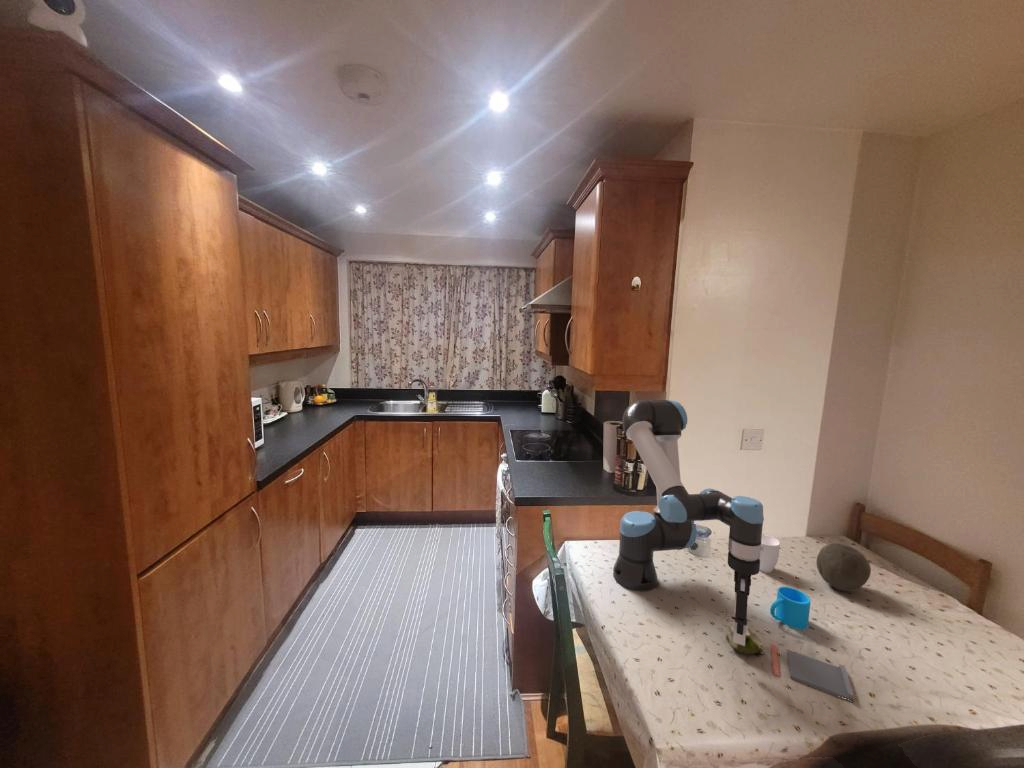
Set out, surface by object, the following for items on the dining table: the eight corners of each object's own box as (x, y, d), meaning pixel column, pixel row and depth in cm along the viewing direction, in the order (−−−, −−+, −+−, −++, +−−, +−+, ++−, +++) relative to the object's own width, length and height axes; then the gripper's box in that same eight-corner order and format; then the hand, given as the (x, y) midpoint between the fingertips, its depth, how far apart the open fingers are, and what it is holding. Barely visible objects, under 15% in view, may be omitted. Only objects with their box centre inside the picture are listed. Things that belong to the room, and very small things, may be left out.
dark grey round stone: (864, 606, 123) (870, 563, 122) (810, 585, 134) (814, 545, 132) (870, 588, 132) (874, 548, 131) (819, 570, 143) (823, 532, 141)
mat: (790, 678, 95) (791, 672, 95) (786, 651, 104) (787, 645, 104) (853, 702, 89) (854, 695, 89) (843, 672, 98) (844, 665, 97)
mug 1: (783, 572, 141) (785, 542, 139) (766, 578, 138) (768, 547, 136) (753, 556, 152) (755, 528, 150) (737, 560, 149) (739, 532, 147)
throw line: (773, 674, 96) (773, 673, 96) (771, 643, 107) (771, 642, 107) (779, 677, 96) (779, 675, 96) (776, 645, 106) (776, 644, 106)
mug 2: (790, 609, 121) (792, 585, 120) (814, 627, 113) (817, 602, 112) (758, 613, 119) (760, 589, 118) (781, 633, 111) (784, 607, 110)
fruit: (751, 670, 99) (747, 642, 98) (719, 647, 108) (715, 622, 107) (772, 652, 103) (769, 626, 102) (739, 632, 111) (736, 607, 111)
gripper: (762, 582, 91) (756, 664, 92) (758, 539, 112) (754, 607, 113) (726, 572, 95) (721, 651, 96) (729, 533, 116) (725, 598, 117)
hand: (739, 627), depth 105 cm, fingers open, 13 cm apart
